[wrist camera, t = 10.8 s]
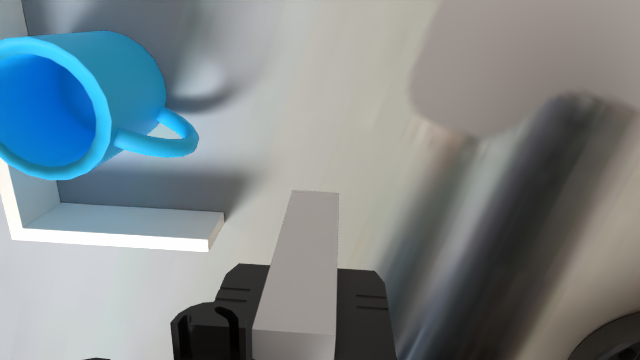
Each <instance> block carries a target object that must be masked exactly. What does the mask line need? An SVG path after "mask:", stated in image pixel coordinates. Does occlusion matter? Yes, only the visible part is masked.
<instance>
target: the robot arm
mask: <svg viewBox="0 0 640 360" xmlns="http://www.w3.org/2000/svg"><path fill="white" fill-rule="evenodd" d="M338 213H339V193H332V192H315V191H298V190H292V193H291V197H290V200H289V204H288V207H287V210H286V214H285V217H284V221H283V224H282V228H281V231H280V235H279V238H278V241H277V245H276V248H275V252H274V255H273V259H272V262H271V265H256V264H240V263H239V264H238V265H237V266H235V267H234V268H233V269H232V270H231V271H229V272H228V273H227V274H226V276H225V278H224V280H223V282H222V284H221V287H220V290H219V291H218V293H217V295H216V298H215V301H214V302H206V303H201V304H198V305H194V306H191V307H189V308H187V309H185V310H184V311H182V312H180V313H179V314H178V315H177V316H176V317H175V318H174V319H173V320H172V322H171V323H170V324H171V334H172V344H173V354H174V360H397V357H396V353H395V346H394V340H393V333H392V327H391V321H390V314H389V311H388V309H389V308H388V301H387V295H386V289H385V283H384V282H383V280H382V279H381V278H380V277H379V276H378V274H377V273H376V272H375V271H369V270H353V269H338V268H337V257H338ZM85 360H110V359H103V358H91V359H85ZM568 360H640V313H637V314H633V315H630V316H626V317H624V318H621V319H618V320H616V321H614V322H612V323H610V324H608V325H606V326H604V327H602V328H601V329H599V330H597V331H596V332H594V333H593V334H592V335H590V336H589V337H588V338H587V339H585V340H584V341H583V342H582V343H581V344H580V345H579V346H578V347H577V348H576V349H575V351H574V352H573V353H572V354H571V356H570V357H569V359H568Z"/></svg>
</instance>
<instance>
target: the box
mask: <svg viewBox="0 0 640 360" xmlns="http://www.w3.org/2000/svg"><path fill="white" fill-rule="evenodd" d="M27 36H28V33H27V28H26V23H25V18H24V13H23V7H22V2H21V0H0V41H1V40H3V39H5V38H14V37H27ZM0 193H1V197H2V201H3V205H4V209H5V213H6V217H7V221H8V225H9V229H10V233H11V237H12V240H25V241H41V242H57V243H73V244H90V245H106V246H122V247H138V248H154V249H170V250H186V251H202V252H209V250H210V248H211V246H212V245H213V243H214V241H215V239H216V237H217V236H218V234H219V232H220V230H221V228H222V227H223V225H224V212H208V211H192V210H175V209H158V208H141V207H125V206H108V205H91V204H74V203H60V197H59V192H58V187H57V182H56V180H46V179H42V178H38V177H34V176H30V175H27V174H25V173H23V172H21V171H20V170H18V169H16V168H14V167H12V166H10V165H9V164H7V163H6V162H5V161H4V160H2V159H1V158H0Z"/></svg>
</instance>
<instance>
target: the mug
mask: <svg viewBox="0 0 640 360" xmlns="http://www.w3.org/2000/svg"><path fill="white" fill-rule="evenodd" d="M166 96H167V94H166V89H165V83H164V78H163V76H162V74H161V72H160V70H159V68H158V66H157V64H156V62H155V60H154V59H153V58H152V57H151V56H150V54H149V53H148V52H147V51H146V50H145V49H144V48H143V47H142V46H141V45H140V44H138V43H136V42H135V41H133V40H132V39H130V38H128V37H127V36H125V35H122V34H118V33H114V32H111V31H91V32H78V33H65V34H53V35H40V36H27V37H14V38H5V39H3V40H1V41H0V158H1V159H2V160H4V161H5V162H6V163H7V164H9V165H10V166H12V167H14V168H16V169H18V170H20V171H21V172H23V173H25V174H27V175H30V176H34V177H38V178H42V179H46V180H70V179H73V178H75V177H78V176H80V175H83V174H86V173H88V172H90V171H91V170H93V169H94V168H96V167H97V166H99V165H101V164H102V163H104V162H105V161H107V160H108V159H110V158H112V157H113V156H115V155H116V154H118V153H120V152H121V151H123V150H128V151H132V152H136V153H140V154H144V155H149V156H157V157H166V158H169V157H183V156H185V155H188V154H190V153H192V152H194V151H195V149H196V147H197V144H198V141H199V136H198V134H197V132H196V130H195V128H194V127H193V126H192V125H191V124H190V123H189V122H188V121H186V120H185V119H184V118H183V117H181V116H180V115H178V114H176V113H175V112H173V111H171V110H170V109H168V108H165V104H166ZM159 122H160V123H162V124H164V125H165V126H167V127H169V128H170V129H172V130H173V131H175V132H176V133H177V134H178V135H180V136H181V137H182V138H183V139H164V138H157V137H151V136H147V134H148V133H150V132H151V131H152V130H153V129H154V128H155V127H156V126H157V125H158V123H159Z"/></svg>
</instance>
